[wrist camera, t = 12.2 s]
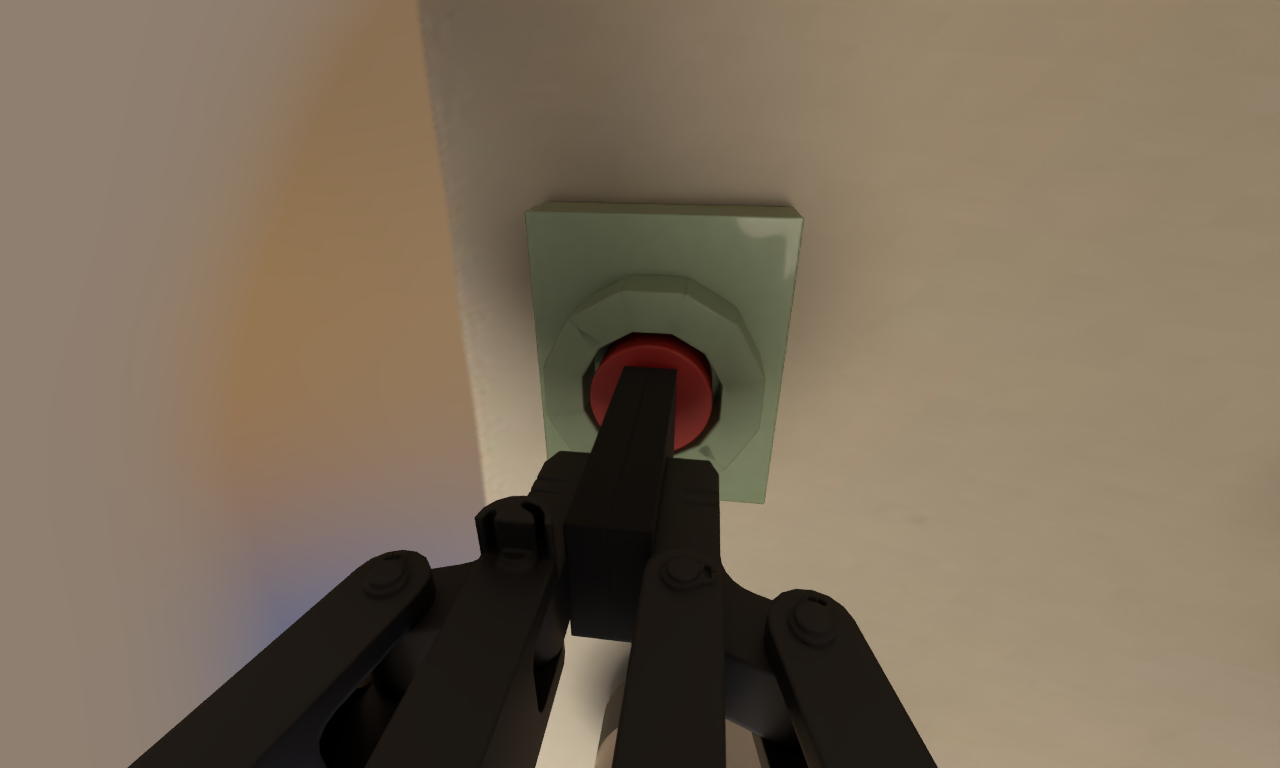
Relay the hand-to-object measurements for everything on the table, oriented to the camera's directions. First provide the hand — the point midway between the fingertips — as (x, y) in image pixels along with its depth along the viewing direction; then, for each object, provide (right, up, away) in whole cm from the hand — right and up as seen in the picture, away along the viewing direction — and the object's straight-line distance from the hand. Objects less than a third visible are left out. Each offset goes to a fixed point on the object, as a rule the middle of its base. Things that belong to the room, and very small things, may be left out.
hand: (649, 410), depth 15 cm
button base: (+1, +2, +4) cm, 5 cm away
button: (0, +1, +2) cm, 2 cm away
